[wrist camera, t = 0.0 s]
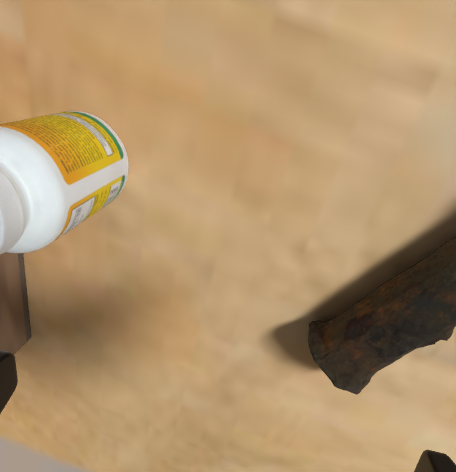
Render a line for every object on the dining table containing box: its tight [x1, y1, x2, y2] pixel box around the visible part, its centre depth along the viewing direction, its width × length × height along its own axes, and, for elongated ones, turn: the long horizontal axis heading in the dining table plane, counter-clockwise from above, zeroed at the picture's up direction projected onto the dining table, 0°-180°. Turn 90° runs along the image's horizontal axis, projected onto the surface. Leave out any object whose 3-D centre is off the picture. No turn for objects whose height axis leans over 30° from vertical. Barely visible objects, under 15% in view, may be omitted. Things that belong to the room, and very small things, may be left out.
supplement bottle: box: [0, 111, 129, 254], centre depth 19 cm, size 5×5×10 cm
